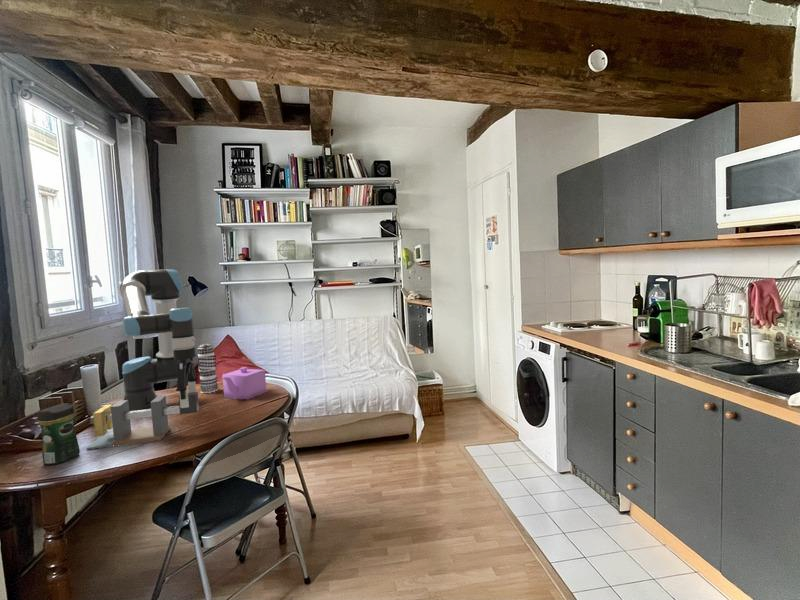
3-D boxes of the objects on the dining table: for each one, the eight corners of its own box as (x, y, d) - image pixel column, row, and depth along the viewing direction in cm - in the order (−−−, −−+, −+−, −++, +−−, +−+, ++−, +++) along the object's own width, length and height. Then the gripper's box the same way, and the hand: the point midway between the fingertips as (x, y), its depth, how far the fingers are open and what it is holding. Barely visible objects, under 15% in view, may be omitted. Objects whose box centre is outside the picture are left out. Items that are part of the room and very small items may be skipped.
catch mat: (101, 437, 162) (101, 435, 162) (125, 434, 164) (125, 432, 164) (86, 450, 151) (86, 448, 151) (112, 446, 153) (112, 444, 153)
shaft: (94, 422, 158) (92, 403, 157) (199, 409, 167) (197, 391, 166) (89, 425, 154) (87, 406, 154) (197, 412, 163) (195, 394, 162)
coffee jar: (66, 452, 149) (61, 401, 148) (84, 453, 147) (78, 401, 146) (37, 465, 140) (31, 410, 139) (55, 466, 138) (49, 410, 137)
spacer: (107, 426, 162) (105, 405, 161) (114, 425, 162) (112, 404, 162) (95, 436, 152) (93, 413, 151) (103, 435, 152) (100, 412, 152)
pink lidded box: (212, 402, 202) (210, 373, 202) (250, 388, 225) (248, 362, 224) (237, 404, 196) (234, 375, 196) (273, 389, 219) (271, 363, 218)
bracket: (124, 434, 164) (121, 399, 163) (170, 428, 168) (167, 394, 167) (112, 446, 153) (108, 408, 152) (161, 439, 157) (157, 402, 156)
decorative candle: (207, 394, 216) (202, 346, 215) (196, 393, 221) (191, 345, 219) (222, 390, 224) (218, 343, 223) (211, 388, 229) (207, 342, 227)
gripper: (187, 352, 151) (192, 410, 153) (201, 342, 175) (205, 393, 177) (163, 354, 149) (169, 413, 151) (181, 344, 174) (186, 395, 175)
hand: (189, 402), depth 164 cm, fingers open, 13 cm apart
